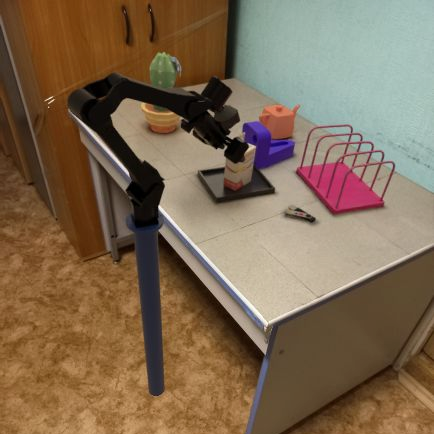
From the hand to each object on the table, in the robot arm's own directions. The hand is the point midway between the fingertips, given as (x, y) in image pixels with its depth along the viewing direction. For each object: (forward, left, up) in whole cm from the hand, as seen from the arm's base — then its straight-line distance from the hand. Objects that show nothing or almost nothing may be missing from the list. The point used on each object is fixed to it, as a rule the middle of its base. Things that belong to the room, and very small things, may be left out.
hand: (233, 154), depth 123 cm
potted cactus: (-9, +44, -11) cm, 46 cm away
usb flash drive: (+12, -21, -11) cm, 27 cm away
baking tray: (+2, +1, -11) cm, 11 cm away
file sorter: (+32, -11, -11) cm, 36 cm away
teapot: (+31, +29, -11) cm, 44 cm away
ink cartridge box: (+2, 0, -10) cm, 10 cm away
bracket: (+20, +13, -11) cm, 26 cm away
